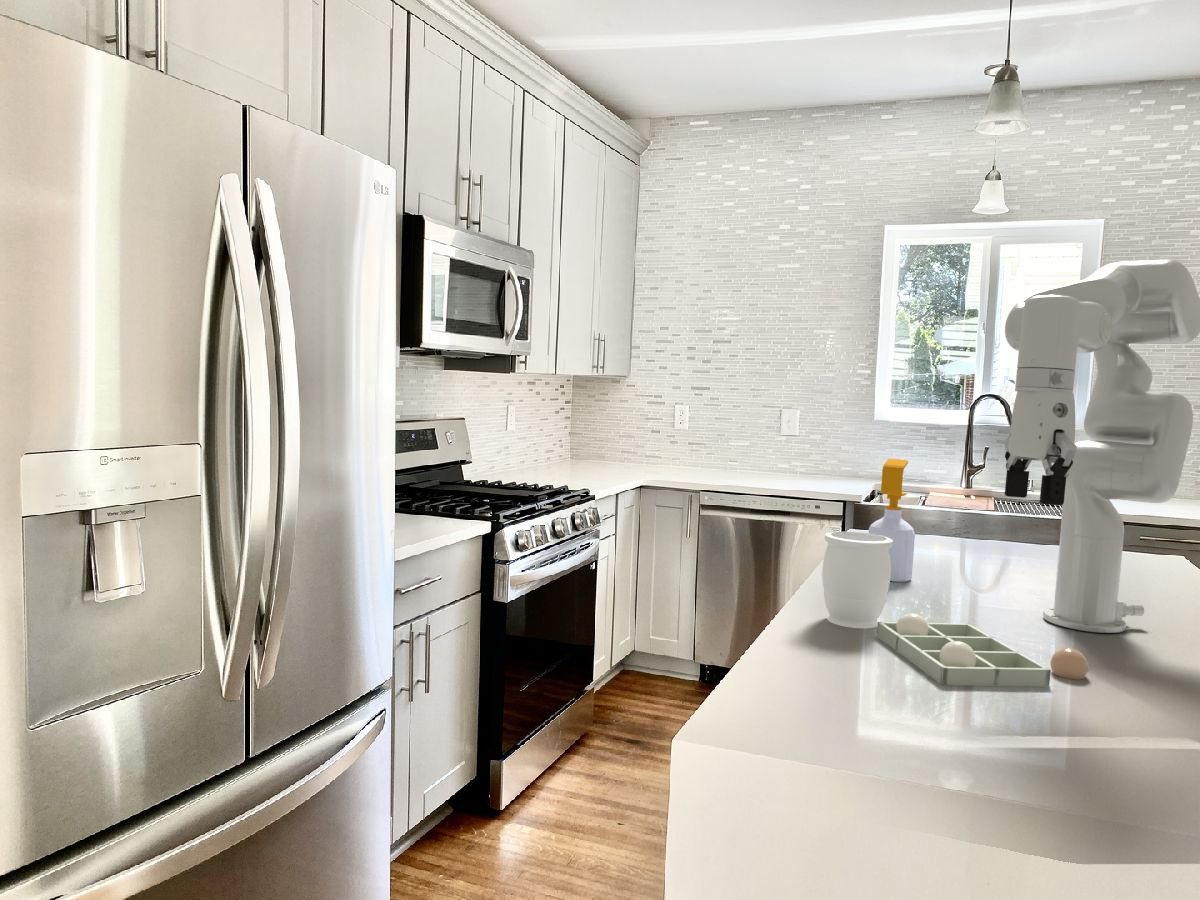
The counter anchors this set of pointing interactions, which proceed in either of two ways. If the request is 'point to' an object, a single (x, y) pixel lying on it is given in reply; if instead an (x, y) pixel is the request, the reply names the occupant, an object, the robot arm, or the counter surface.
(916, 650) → the egg tray
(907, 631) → the cream egg
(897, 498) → the soap bottle
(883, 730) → the counter surface
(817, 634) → the counter surface
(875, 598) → the jar
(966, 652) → the cream egg
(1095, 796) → the counter surface
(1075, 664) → the brown egg
